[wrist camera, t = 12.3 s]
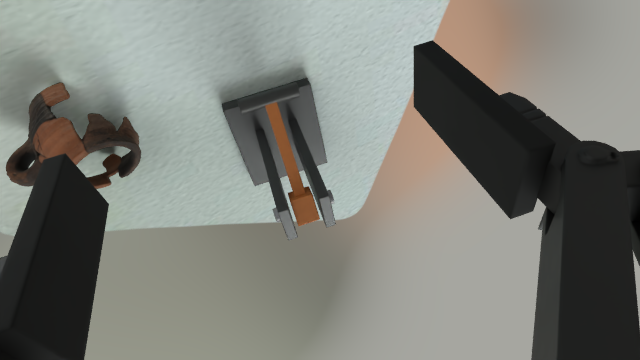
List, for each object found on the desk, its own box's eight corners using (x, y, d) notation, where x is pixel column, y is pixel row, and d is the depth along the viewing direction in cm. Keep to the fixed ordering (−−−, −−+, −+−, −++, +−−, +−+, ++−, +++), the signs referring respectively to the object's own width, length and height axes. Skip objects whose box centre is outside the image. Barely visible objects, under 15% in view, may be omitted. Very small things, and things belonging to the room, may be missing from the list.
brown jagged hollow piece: (81, 58, 37) (119, 120, 34) (132, 108, 46) (165, 160, 43) (-40, 128, 35) (-9, 198, 32) (38, 166, 44) (67, 223, 41)
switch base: (221, 103, 43) (238, 193, 33) (307, 77, 44) (349, 157, 34) (252, 178, 52) (274, 269, 41) (324, 155, 53) (362, 238, 42)
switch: (237, 98, 36) (236, 102, 33) (294, 81, 36) (297, 83, 34) (280, 222, 40) (282, 232, 38) (330, 205, 41) (335, 214, 38)
